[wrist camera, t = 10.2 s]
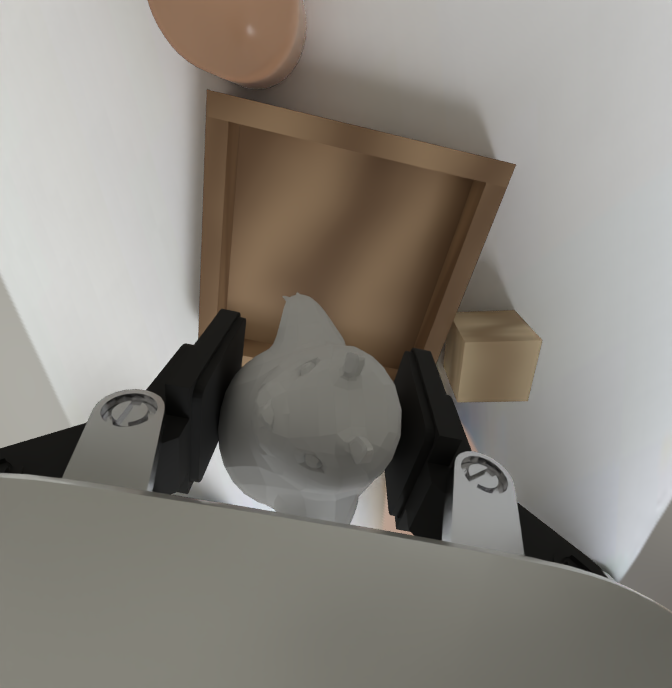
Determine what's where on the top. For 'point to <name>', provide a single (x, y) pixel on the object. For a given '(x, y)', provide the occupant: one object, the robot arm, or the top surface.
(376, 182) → the walnut tray
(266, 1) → the oval beige cylinder
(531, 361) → the oak block
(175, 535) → the robot arm
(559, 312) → the top surface
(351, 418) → the figurine
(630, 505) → the top surface
